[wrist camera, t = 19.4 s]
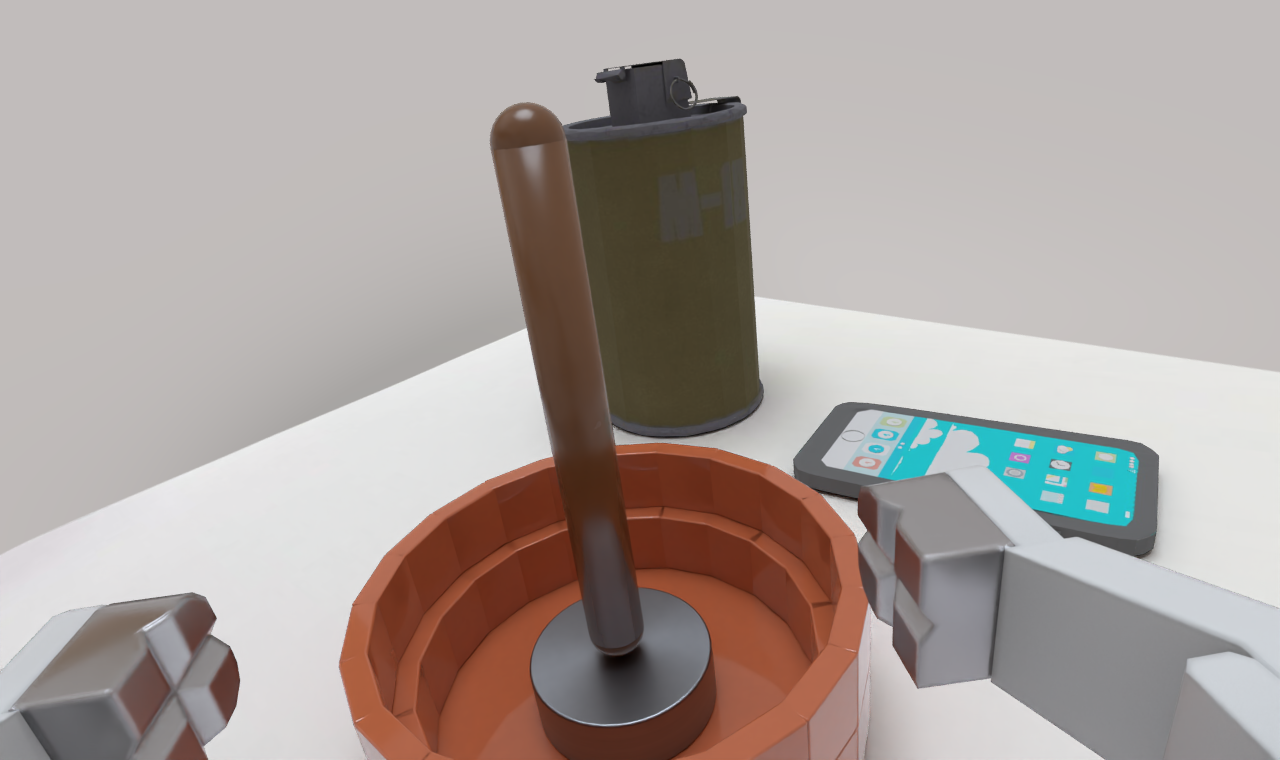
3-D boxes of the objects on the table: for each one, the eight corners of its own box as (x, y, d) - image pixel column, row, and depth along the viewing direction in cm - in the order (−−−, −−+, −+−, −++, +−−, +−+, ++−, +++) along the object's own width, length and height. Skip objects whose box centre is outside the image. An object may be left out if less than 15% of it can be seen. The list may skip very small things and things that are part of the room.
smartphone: (842, 394, 41) (1160, 440, 33) (843, 409, 42) (1156, 458, 33) (783, 468, 35) (1156, 546, 27) (784, 485, 35) (1152, 567, 27)
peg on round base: (588, 811, 20) (427, 122, 13) (514, 678, 25) (366, 122, 18) (753, 708, 23) (700, 79, 15) (657, 605, 28) (581, 89, 20)
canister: (664, 457, 40) (614, 67, 31) (573, 401, 48) (515, 80, 40) (803, 393, 45) (791, 43, 37) (700, 352, 53) (671, 59, 45)
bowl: (490, 1143, 15) (418, 981, 12) (356, 673, 28) (308, 548, 25) (979, 752, 21) (994, 596, 19) (689, 518, 34) (676, 406, 32)
